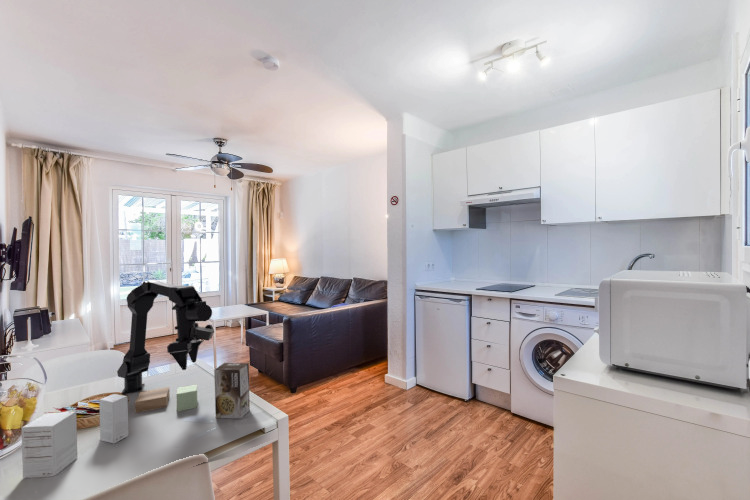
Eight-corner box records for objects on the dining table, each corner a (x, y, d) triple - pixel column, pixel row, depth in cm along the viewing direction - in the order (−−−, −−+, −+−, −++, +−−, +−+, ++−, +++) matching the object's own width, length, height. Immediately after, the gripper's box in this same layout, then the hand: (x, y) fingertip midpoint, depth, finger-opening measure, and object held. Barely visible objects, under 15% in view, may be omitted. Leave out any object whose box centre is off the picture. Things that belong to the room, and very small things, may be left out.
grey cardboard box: (250, 409, 113) (249, 362, 113) (241, 419, 107) (240, 369, 107) (225, 408, 114) (224, 362, 114) (214, 418, 108) (213, 369, 107)
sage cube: (178, 404, 118) (178, 387, 118) (197, 400, 121) (197, 384, 121) (176, 411, 113) (176, 394, 113) (196, 407, 115) (196, 390, 115)
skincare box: (129, 436, 98) (128, 395, 98) (113, 444, 94) (112, 402, 94) (115, 432, 100) (114, 393, 100) (99, 440, 96) (98, 399, 96)
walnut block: (140, 402, 120) (140, 391, 120) (169, 397, 124) (169, 387, 124) (135, 413, 112) (135, 402, 112) (166, 407, 116) (166, 396, 116)
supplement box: (48, 459, 87) (47, 412, 87) (78, 457, 88) (77, 410, 88) (21, 479, 80) (20, 427, 80) (54, 477, 81) (53, 425, 80)
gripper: (201, 323, 110) (205, 370, 109) (217, 315, 128) (221, 355, 127) (164, 327, 108) (168, 375, 107) (186, 318, 126) (189, 359, 125)
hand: (189, 365), depth 117 cm, fingers open, 9 cm apart
